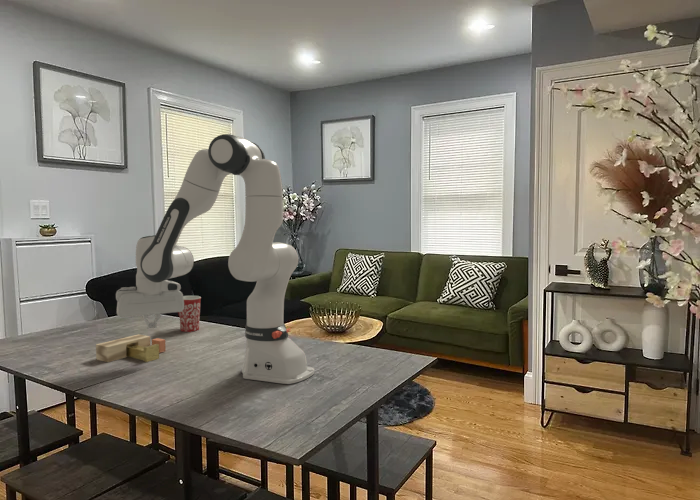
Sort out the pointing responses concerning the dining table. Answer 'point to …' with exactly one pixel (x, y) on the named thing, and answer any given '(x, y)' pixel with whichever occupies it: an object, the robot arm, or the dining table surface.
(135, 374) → the dining table surface
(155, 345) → the pin
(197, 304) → the mug
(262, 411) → the dining table surface
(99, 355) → the block
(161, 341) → the orange block
